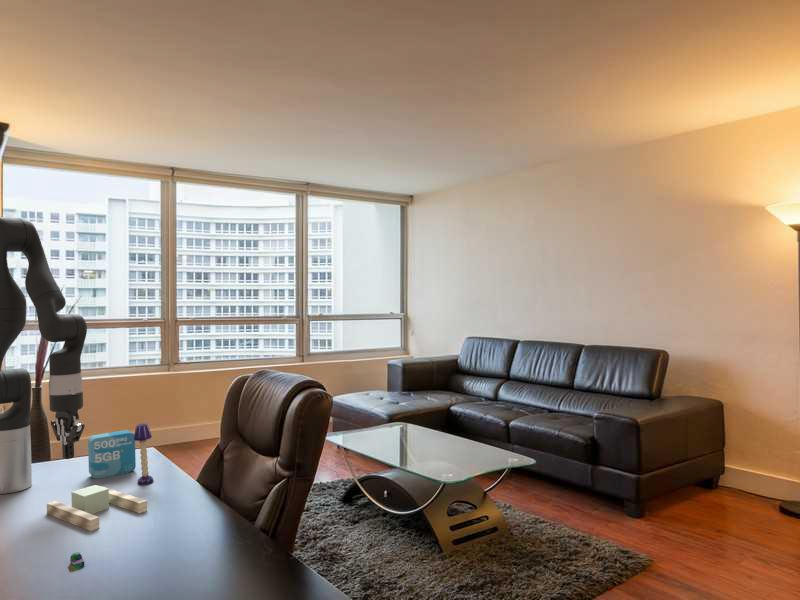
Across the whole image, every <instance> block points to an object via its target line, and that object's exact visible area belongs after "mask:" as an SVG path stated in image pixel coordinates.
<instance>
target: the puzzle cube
mask: <svg viewBox="0 0 800 600" xmlns="http://www.w3.org/2000/svg"><path fill="white" fill-rule="evenodd" d="M80 568H85V560H84V558H83V555H82V554H81V552H78V551H77V552H74V553H72V554H71V555H70V564H69V565H68V567H67V569H68V571H69V573H72V572H75V571H80Z"/></svg>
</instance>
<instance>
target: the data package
mask: <svg viewBox="0 0 800 600" xmlns="http://www.w3.org/2000/svg"><path fill="white" fill-rule="evenodd" d="M134 434H135V433H132V432H131V430H125V429H124V430H119V431H118V430H117V431H113V432H106V433H99V434H93V435H91V436H90V437H89V438H88V440H87V449H88V451H87V453H88V456H87V457H88V474H90V476H91V477H92V478H93V479H96V480H97V479H98V478H99V479H103V477H104V478H108V476H109V477H113V475H114V476H117V474H119V475H123V474H122V473H124V474H128V473H127V472H129V473H132V472H133V471H135V470H136V467H137V466H136V460H137V459H136V441H135V440H134ZM131 471H132V472H131ZM99 479H98V480H99Z"/></svg>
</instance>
